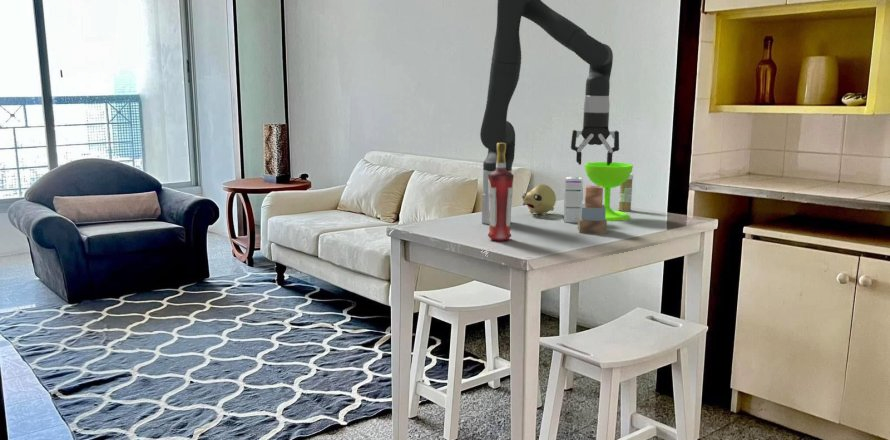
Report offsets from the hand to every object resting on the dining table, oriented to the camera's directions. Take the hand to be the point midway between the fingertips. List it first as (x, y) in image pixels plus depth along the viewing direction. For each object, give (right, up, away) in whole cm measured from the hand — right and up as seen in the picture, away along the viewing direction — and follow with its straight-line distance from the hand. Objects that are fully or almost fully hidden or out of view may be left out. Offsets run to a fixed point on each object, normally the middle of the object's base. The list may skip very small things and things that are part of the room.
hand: (593, 164), depth 223 cm
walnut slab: (0, -20, +4) cm, 21 cm away
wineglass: (+10, -16, +28) cm, 34 cm away
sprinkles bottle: (+19, -14, +41) cm, 47 cm away
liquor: (-30, -23, -10) cm, 39 cm away
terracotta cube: (0, -13, +2) cm, 13 cm away
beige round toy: (-13, -15, +31) cm, 37 cm away
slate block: (0, -17, +3) cm, 17 cm away
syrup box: (-3, -17, +19) cm, 26 cm away
